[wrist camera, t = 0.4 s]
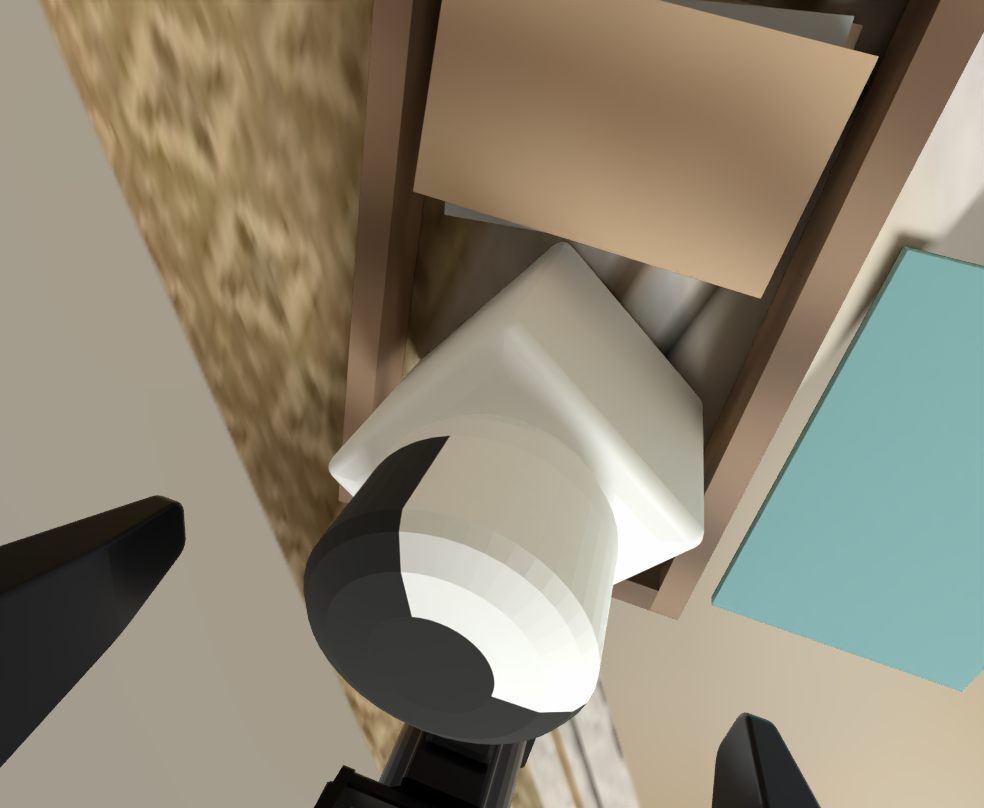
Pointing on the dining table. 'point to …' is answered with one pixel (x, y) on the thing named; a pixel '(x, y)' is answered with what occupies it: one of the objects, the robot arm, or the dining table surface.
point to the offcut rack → (797, 303)
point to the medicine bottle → (507, 510)
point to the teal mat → (885, 489)
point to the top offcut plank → (636, 128)
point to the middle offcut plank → (783, 20)
